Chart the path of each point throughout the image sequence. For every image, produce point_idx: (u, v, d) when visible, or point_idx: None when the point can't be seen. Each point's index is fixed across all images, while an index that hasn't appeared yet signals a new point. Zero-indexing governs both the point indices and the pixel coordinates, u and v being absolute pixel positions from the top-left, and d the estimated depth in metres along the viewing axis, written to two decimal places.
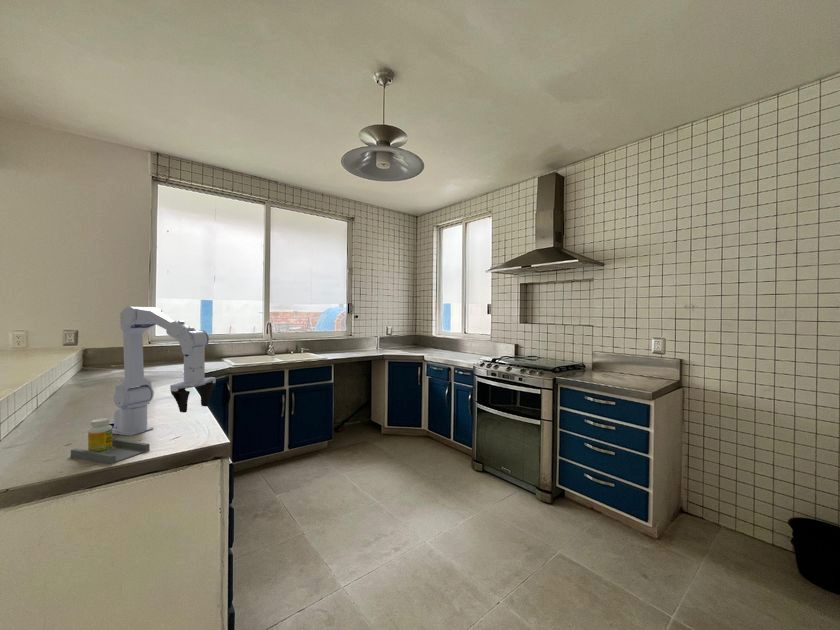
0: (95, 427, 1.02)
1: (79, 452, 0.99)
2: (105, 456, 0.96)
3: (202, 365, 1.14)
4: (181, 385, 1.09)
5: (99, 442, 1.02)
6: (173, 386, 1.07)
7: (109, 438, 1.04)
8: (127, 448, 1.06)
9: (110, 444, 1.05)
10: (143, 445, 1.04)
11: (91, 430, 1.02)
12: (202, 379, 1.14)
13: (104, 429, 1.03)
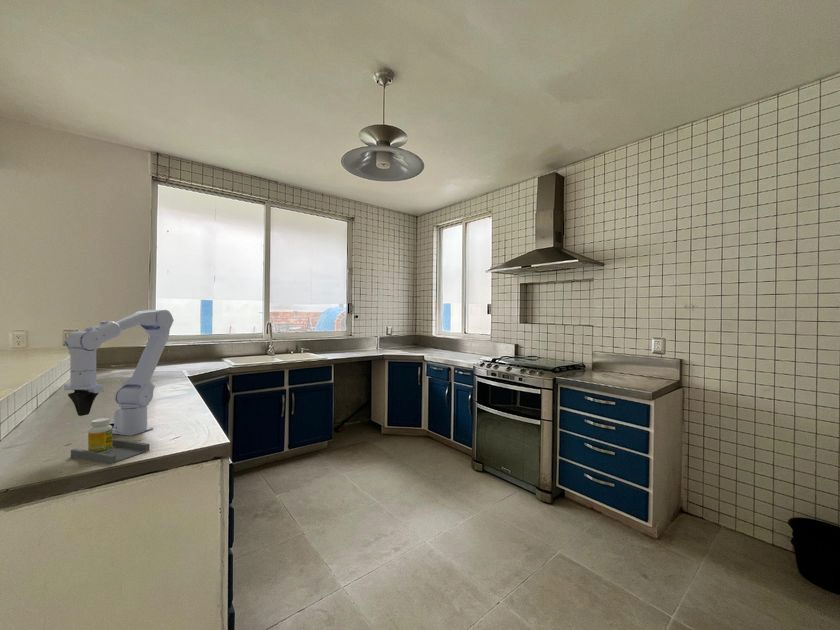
0: (95, 427, 1.02)
1: (79, 452, 0.99)
2: (105, 456, 0.96)
3: (75, 369, 1.03)
4: (66, 385, 1.07)
5: (99, 442, 1.02)
6: None
7: (109, 438, 1.04)
8: (127, 448, 1.06)
9: (110, 444, 1.05)
10: (143, 445, 1.04)
11: (91, 430, 1.02)
12: (73, 385, 1.03)
13: (104, 429, 1.03)
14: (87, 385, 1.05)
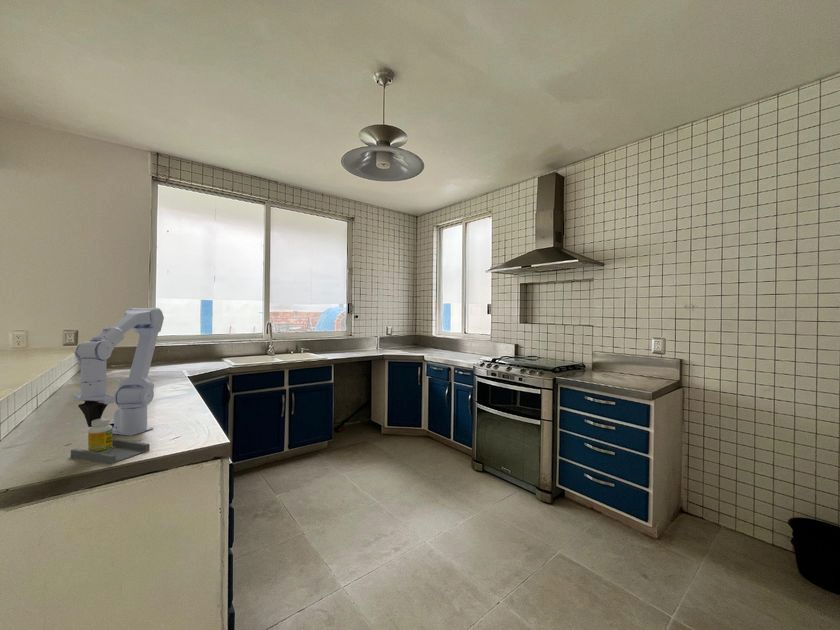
0: (95, 427, 1.02)
1: (79, 452, 0.99)
2: (105, 456, 0.96)
3: (88, 380, 1.02)
4: (76, 396, 1.05)
5: (99, 442, 1.02)
6: None
7: (109, 438, 1.04)
8: (127, 448, 1.06)
9: (110, 444, 1.04)
10: (143, 445, 1.04)
11: (91, 430, 1.02)
12: (83, 395, 1.02)
13: (104, 429, 1.03)
14: (97, 396, 1.03)
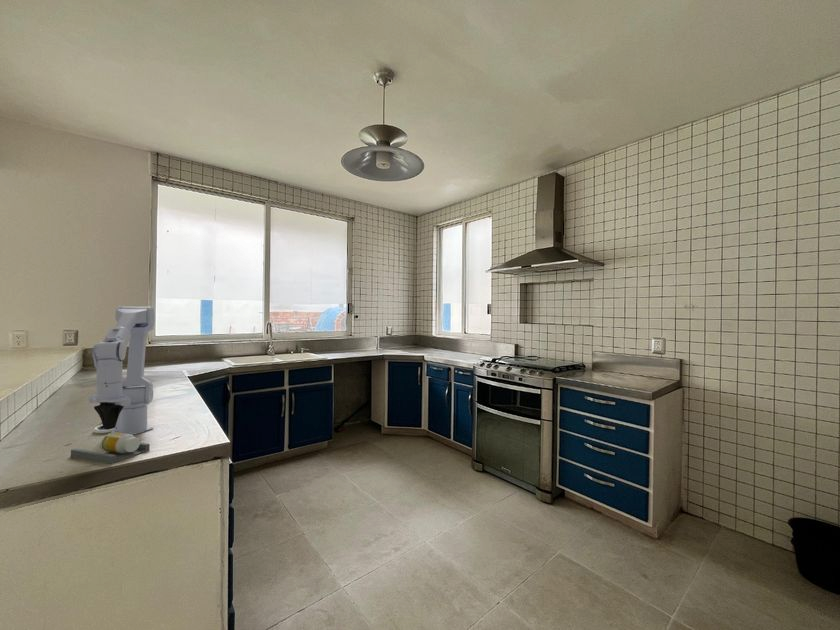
0: (121, 446, 1.00)
1: (79, 452, 0.99)
2: (105, 456, 0.96)
3: (108, 381, 1.01)
4: (92, 398, 1.03)
5: (110, 450, 1.01)
6: None
7: None
8: None
9: None
10: (143, 445, 1.04)
11: (118, 444, 1.00)
12: (100, 397, 1.00)
13: (122, 453, 1.01)
14: (114, 397, 1.01)
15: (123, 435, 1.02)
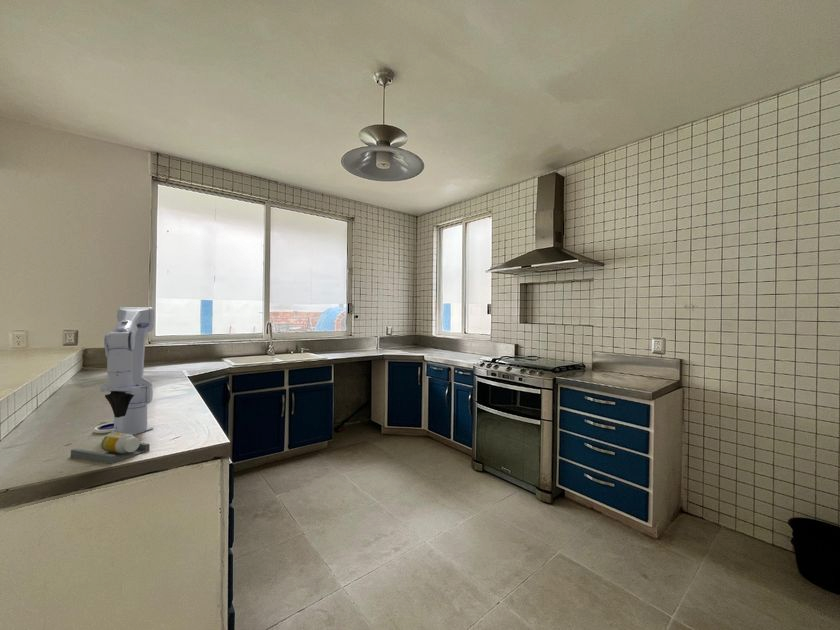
0: (121, 447, 1.00)
1: (79, 452, 0.99)
2: (105, 456, 0.96)
3: (120, 370, 1.03)
4: (102, 387, 1.05)
5: (110, 450, 1.01)
6: None
7: None
8: None
9: None
10: (143, 445, 1.04)
11: (118, 445, 1.00)
12: (111, 386, 1.02)
13: (122, 453, 1.01)
14: (124, 386, 1.03)
15: (123, 435, 1.02)
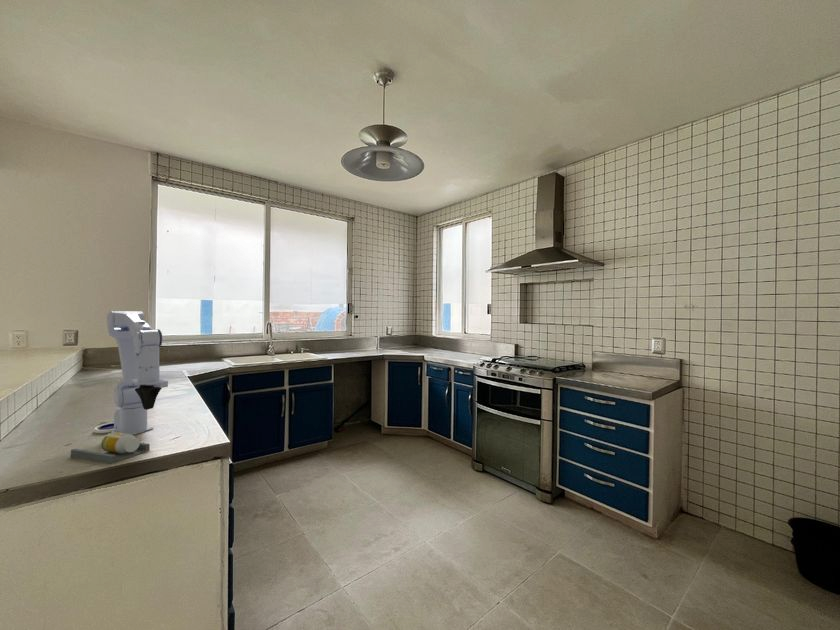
0: (121, 447, 1.00)
1: (79, 452, 0.99)
2: (105, 456, 0.96)
3: (153, 365, 1.12)
4: (132, 381, 1.14)
5: (110, 450, 1.01)
6: None
7: None
8: None
9: None
10: (143, 445, 1.04)
11: (118, 445, 1.00)
12: (140, 380, 1.11)
13: (122, 453, 1.01)
14: (153, 380, 1.12)
15: (123, 435, 1.02)
